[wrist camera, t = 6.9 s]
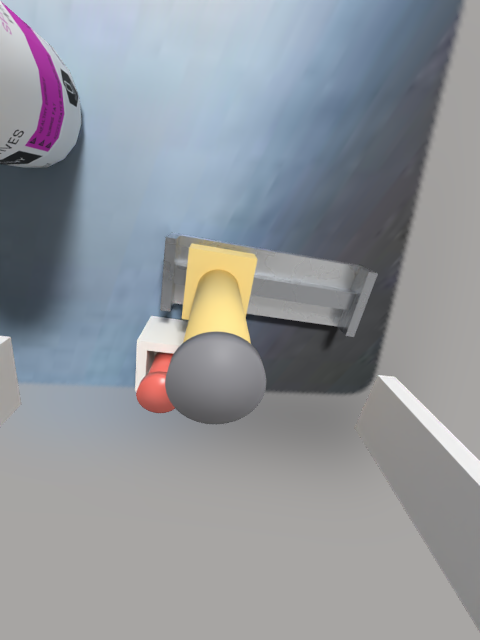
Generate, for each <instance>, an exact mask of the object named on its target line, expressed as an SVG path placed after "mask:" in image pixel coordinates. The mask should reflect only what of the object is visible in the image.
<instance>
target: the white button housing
mask: <svg viewBox="0 0 480 640" xmlns="http://www.w3.org/2000/svg"><path fill="white" fill-rule="evenodd" d="M187 325H188V321H186V320H179V319H171V318H164V317H156V316H151V317H150V319H149V321H148V322H147V324H146V326H145V328H144V329H143V331H142V333H141V335H140V336H139V338H138V340H137V356H136V382H135V391H137V389H138V387H139V384H140V382H141V380H142V379H143V378H144V377H145V376H146V375H147V374H148V373H149V371H150V368H151V366H152V363H153V361H154V358H155V356H156V354H157V353H158V352H165V353H173V354H174V353H175V351H176V350H177V348H178V347H179V346H180V345H181V344H182V343H183V341H184V337H185V333H186V329H187Z"/></svg>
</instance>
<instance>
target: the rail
mask: <svg viewBox="0 0 480 640" xmlns="http://www.w3.org/2000/svg"><path fill="white" fill-rule="evenodd" d="M192 243H193V244H199V245H204V246H210V247H216V248H222V249H228V250H234V251H240V252H245V253H251V254H255V256H256V257H257V264H256V269H255V274H254V279H253V284H252V289H251V294H250V299H249V304H248V309H247V313H246V314H253V315H260V316H267V317H274V318H281V319H288V320H295V321H302V322H310V323H317V324H324V325H331V326H337V327H338V328H339V329H340V330H341V331H342V332H343V333H344V334H345V336H351V337H354V335H355V332H356V330H357V327H358V324H359V322H360V319H361V317H362V314H363V311H364V309H365V306H366V303H367V301H368V298H369V296H370V293H371V290H372V288H373V285H374V282H375V280H376V277H377V274H378V273H376V272H374V271H372V270H370V269H368V268H366V267H364V266H362V265H357V264H351V263H345V262H339V261H334V260H328V259H322V258H316V257H311V256H305V255H299V254H293V253H288V252H282V251H276V250H271V249H265V248H259V247H253V246H248V245H242V244H236V243H230V242H225V241H219V240H213V239H207V238H202V237H196V236H190V235H184V234H179V233H173V232H172V233H170V234H169V235H168V236H166V240H165V253H164V267H163V281H162V295H161V309H160V310H162V311H171V308H172V306H173V304H174V303H176V304H183V301H184V292H185V282H186V273H187V263H188V254H189V247H190V245H191V244H192Z"/></svg>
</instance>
